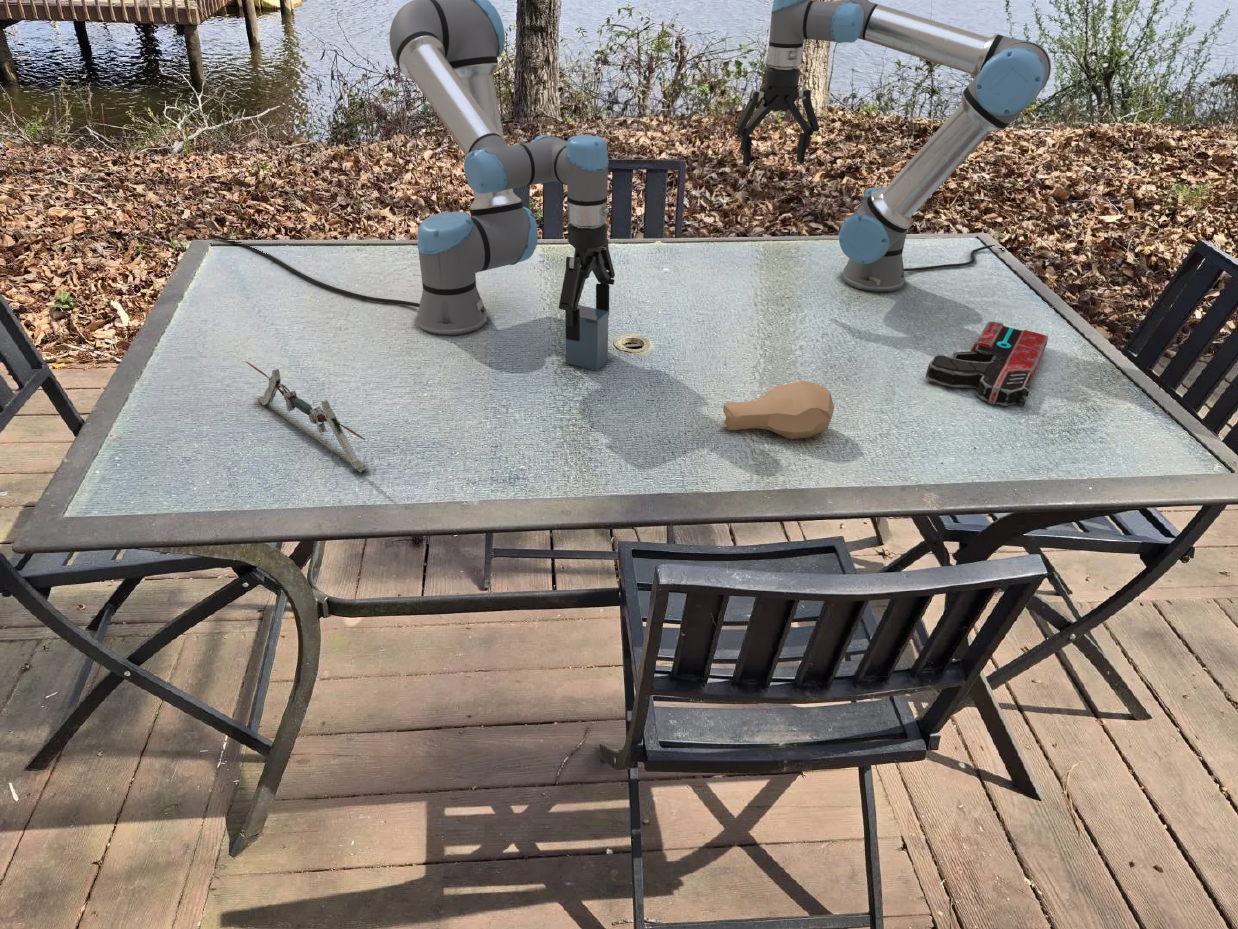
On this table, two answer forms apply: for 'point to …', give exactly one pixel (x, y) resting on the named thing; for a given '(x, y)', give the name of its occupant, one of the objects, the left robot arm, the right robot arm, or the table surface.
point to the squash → (784, 411)
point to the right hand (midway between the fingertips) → (773, 163)
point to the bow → (311, 415)
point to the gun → (993, 364)
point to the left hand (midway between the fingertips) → (588, 326)
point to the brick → (589, 340)
